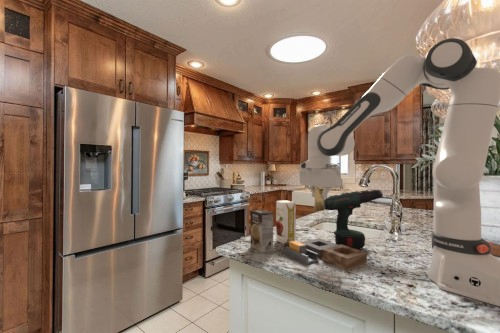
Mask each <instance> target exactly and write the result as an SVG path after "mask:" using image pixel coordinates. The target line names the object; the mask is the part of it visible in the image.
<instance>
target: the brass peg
mask: <svg viewBox="0 0 500 333" xmlns="http://www.w3.org/2000/svg"><path fill="white" fill-rule="evenodd" d="M323 193H324V190H323V187H316V188H314V197H313V198H314V210H315V211H318V212H319V211H326V210H325V207H324V200H325V198H322V194H323Z"/></svg>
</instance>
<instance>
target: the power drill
mask: <svg viewBox="0 0 500 333" xmlns="http://www.w3.org/2000/svg"><path fill="white" fill-rule="evenodd" d="M383 195H384V194H383V192H382V191H381V190H380V189H373V190H367V189H366V190H361V191H358V190H356V191H351V192H343V193H340V194H334V195H330V196H327V198H324V208H325V210H324V211H337V215H336V221H335V223H336V225H335V226H336V229H335V230H334V231H333V235H335V236H334V241H335V244H338V245H341V244H342V245H345V246H348V247H351V248H354V249H357V250H360V251H361V250H362V249H363V248H364V247H365V245H366V236H365V234H364V232H362V231H360V230H355V229H349V226H348V225H349V224H348V223H349V217H350V216H351V215H353V214H354V213H353V211H354V210H355V209H359V208H361V204H366V203H369V202H372V201H375V200H378V199H381V198H383Z"/></svg>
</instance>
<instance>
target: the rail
mask: <svg viewBox="0 0 500 333" xmlns="http://www.w3.org/2000/svg"><path fill="white" fill-rule="evenodd" d="M281 248H282V250H281V253H282V254H283V255H284V256H287V257H289V258H291V259H293V260H296V261H297V262H299V263H301V264H303V265H305V266H307V265H311V264H312V265H313V264H314V263H319V257H318V253H315V252H313V251H310V250H308V249H306V255H305V254H303V253H300V252H298V251H296V250H293V249H291V248H289V242H286V243H284V244H282V246H281Z"/></svg>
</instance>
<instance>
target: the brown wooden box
mask: <svg viewBox="0 0 500 333" xmlns="http://www.w3.org/2000/svg"><path fill="white" fill-rule="evenodd" d="M321 260H322V261H324V262H327V263H329V264H331V265H334V266H335V267H338V268H340V269H342V270H345V271H349V270H352V269H356V268H358V267H361V266H365V265H367V263H368V252H366V251H363V250H361V249H360V250H357V249H354V248H351V247H348V246H345V245H342V244H341V245H337V246H333V247H329V248H325V249H322V257H321Z"/></svg>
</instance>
